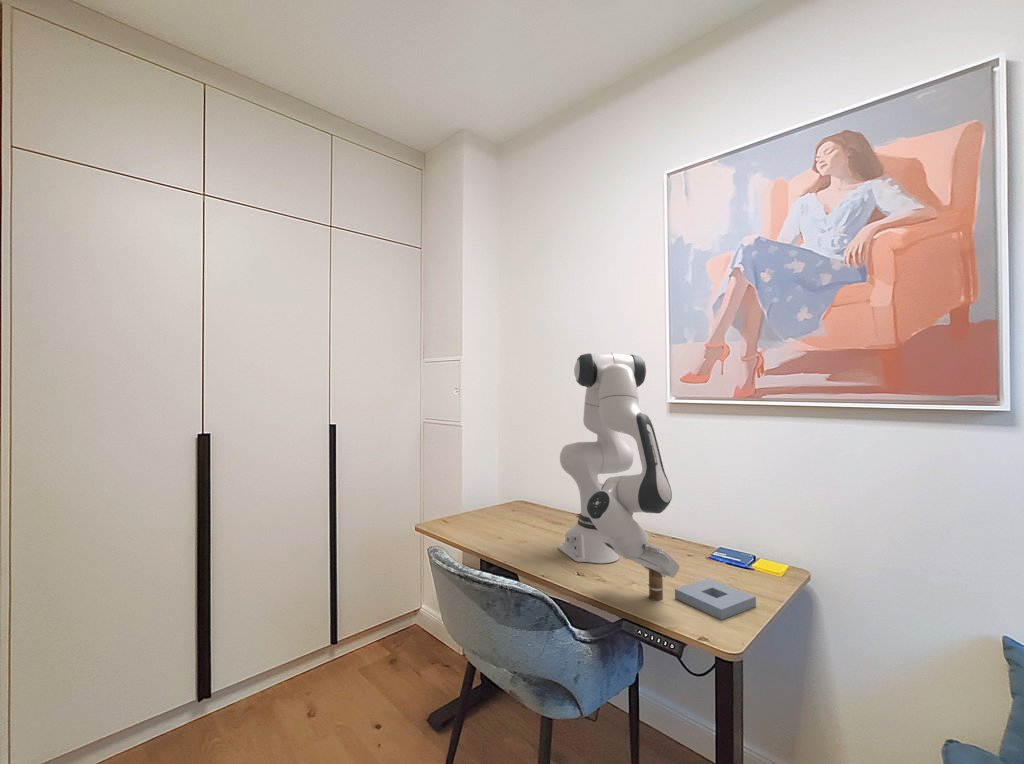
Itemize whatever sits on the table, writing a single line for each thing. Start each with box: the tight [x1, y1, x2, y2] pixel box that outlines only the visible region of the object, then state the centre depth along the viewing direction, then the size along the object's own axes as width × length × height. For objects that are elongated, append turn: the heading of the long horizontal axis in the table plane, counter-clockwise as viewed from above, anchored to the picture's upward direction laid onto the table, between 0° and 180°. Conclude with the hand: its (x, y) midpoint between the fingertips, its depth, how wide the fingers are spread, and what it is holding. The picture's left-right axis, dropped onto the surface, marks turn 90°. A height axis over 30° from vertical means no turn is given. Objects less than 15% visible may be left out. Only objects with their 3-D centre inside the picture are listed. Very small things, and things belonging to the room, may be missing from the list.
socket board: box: [674, 578, 757, 621], centre depth 122 cm, size 14×14×2 cm
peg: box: [648, 568, 664, 601], centre depth 125 cm, size 4×4×12 cm
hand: (657, 571), depth 125 cm, fingers closed on peg, 3 cm apart
